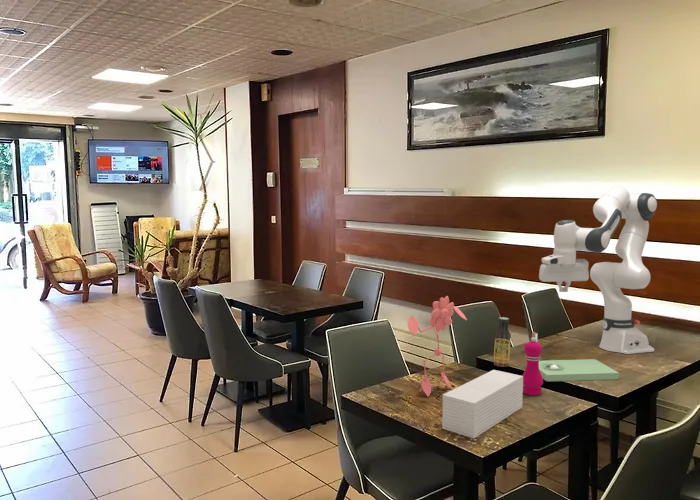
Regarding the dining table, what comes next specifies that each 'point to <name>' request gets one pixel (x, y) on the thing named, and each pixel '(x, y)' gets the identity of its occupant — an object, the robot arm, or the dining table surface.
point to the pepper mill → (532, 368)
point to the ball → (553, 367)
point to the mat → (575, 369)
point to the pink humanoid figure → (439, 321)
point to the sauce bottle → (502, 344)
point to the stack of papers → (482, 403)
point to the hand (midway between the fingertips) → (563, 291)
